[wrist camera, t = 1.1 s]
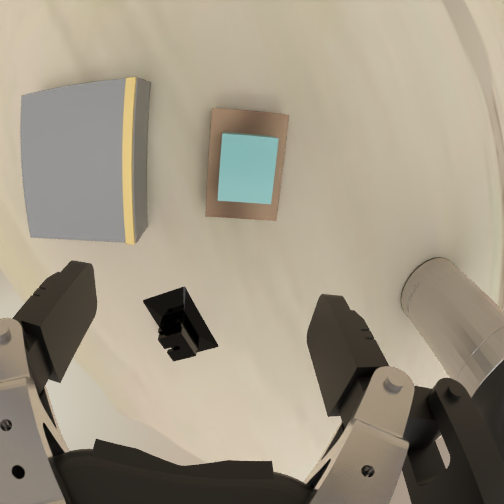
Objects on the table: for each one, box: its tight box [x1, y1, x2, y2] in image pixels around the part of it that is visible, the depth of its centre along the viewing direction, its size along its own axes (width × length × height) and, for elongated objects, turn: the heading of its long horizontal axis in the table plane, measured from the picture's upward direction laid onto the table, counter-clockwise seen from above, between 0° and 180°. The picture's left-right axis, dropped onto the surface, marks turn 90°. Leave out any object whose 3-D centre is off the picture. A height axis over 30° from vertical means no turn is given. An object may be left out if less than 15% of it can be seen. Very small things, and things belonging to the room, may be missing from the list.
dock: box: [21, 77, 151, 244], centre depth 23 cm, size 12×14×4 cm
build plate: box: [143, 287, 218, 361], centre depth 32 cm, size 12×7×5 cm, turn 19°
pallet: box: [205, 108, 289, 221], centre depth 25 cm, size 6×9×4 cm, turn 175°
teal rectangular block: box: [218, 132, 279, 204], centre depth 22 cm, size 4×5×2 cm
